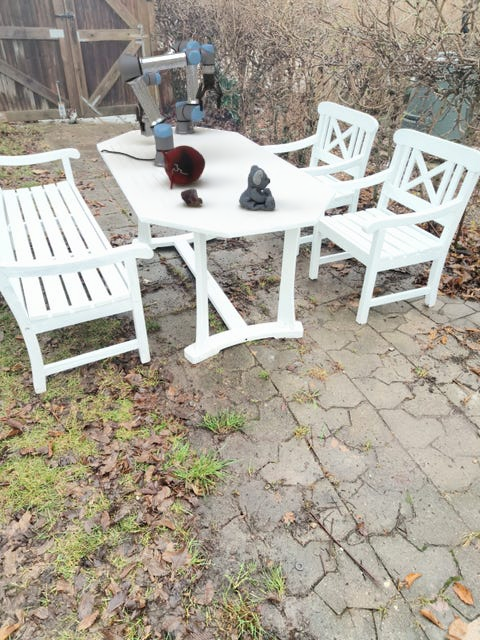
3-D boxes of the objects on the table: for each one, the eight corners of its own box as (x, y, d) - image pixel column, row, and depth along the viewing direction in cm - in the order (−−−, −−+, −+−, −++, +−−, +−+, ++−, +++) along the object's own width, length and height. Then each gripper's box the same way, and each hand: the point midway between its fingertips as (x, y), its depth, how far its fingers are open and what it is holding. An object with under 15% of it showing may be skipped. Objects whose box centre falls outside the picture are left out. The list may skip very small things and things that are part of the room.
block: (146, 136, 330) (145, 122, 324) (141, 134, 335) (139, 121, 330) (153, 135, 333) (152, 121, 327) (148, 133, 338) (146, 120, 333)
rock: (196, 202, 238) (178, 205, 233) (194, 185, 234) (176, 188, 230) (205, 205, 228) (187, 208, 224) (203, 188, 224) (185, 191, 220)
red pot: (163, 151, 265) (157, 149, 242) (201, 142, 264) (199, 140, 241) (172, 187, 272) (167, 189, 248) (209, 179, 271) (208, 180, 248)
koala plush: (276, 211, 223) (277, 171, 212) (240, 212, 222) (240, 172, 211) (271, 199, 237) (272, 161, 226) (237, 200, 236) (237, 162, 225)
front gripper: (195, 75, 274) (197, 112, 286) (228, 72, 286) (228, 108, 298) (188, 74, 279) (191, 111, 291) (221, 71, 291) (222, 106, 303)
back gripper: (133, 98, 312) (137, 133, 325) (157, 95, 321) (160, 129, 335) (128, 96, 317) (132, 131, 330) (151, 93, 326) (155, 127, 339)
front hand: (210, 109), depth 294 cm, fingers open, 13 cm apart
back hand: (146, 130), depth 332 cm, fingers closed on block, 6 cm apart
